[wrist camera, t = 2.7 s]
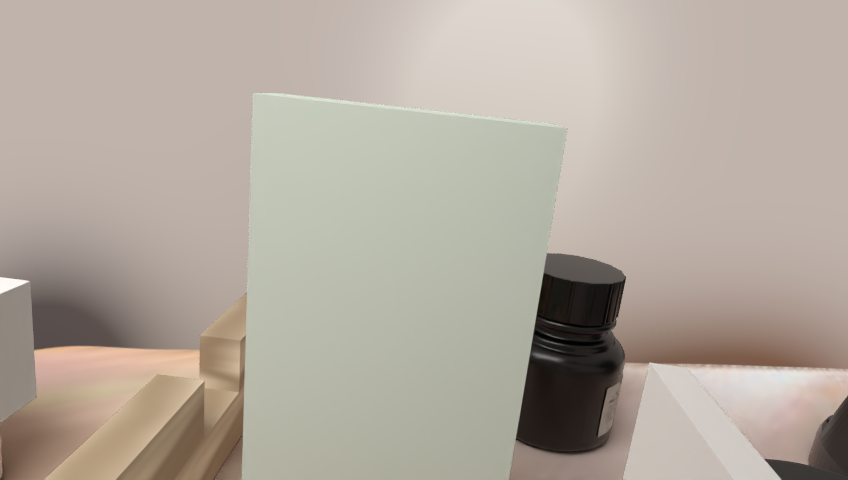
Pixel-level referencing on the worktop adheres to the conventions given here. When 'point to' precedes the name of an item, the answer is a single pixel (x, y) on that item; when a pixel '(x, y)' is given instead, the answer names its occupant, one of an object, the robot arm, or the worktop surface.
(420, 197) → the pale green panel
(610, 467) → the worktop surface
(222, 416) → the slotted rail
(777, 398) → the worktop surface
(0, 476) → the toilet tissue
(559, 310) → the ink bottle
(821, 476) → the jar
